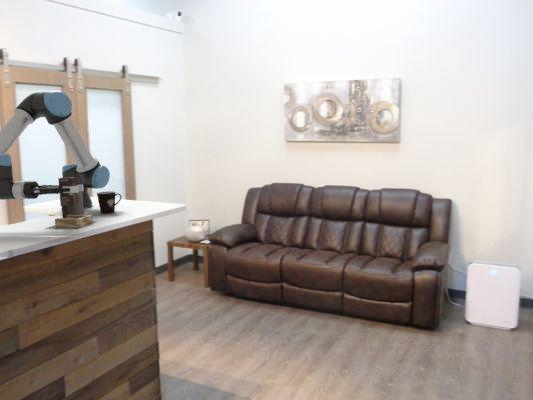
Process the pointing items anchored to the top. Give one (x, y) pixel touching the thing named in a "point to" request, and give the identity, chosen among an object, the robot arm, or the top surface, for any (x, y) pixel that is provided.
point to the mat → (66, 227)
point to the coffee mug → (107, 202)
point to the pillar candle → (74, 207)
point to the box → (68, 198)
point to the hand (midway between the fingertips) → (80, 188)
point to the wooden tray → (74, 221)
